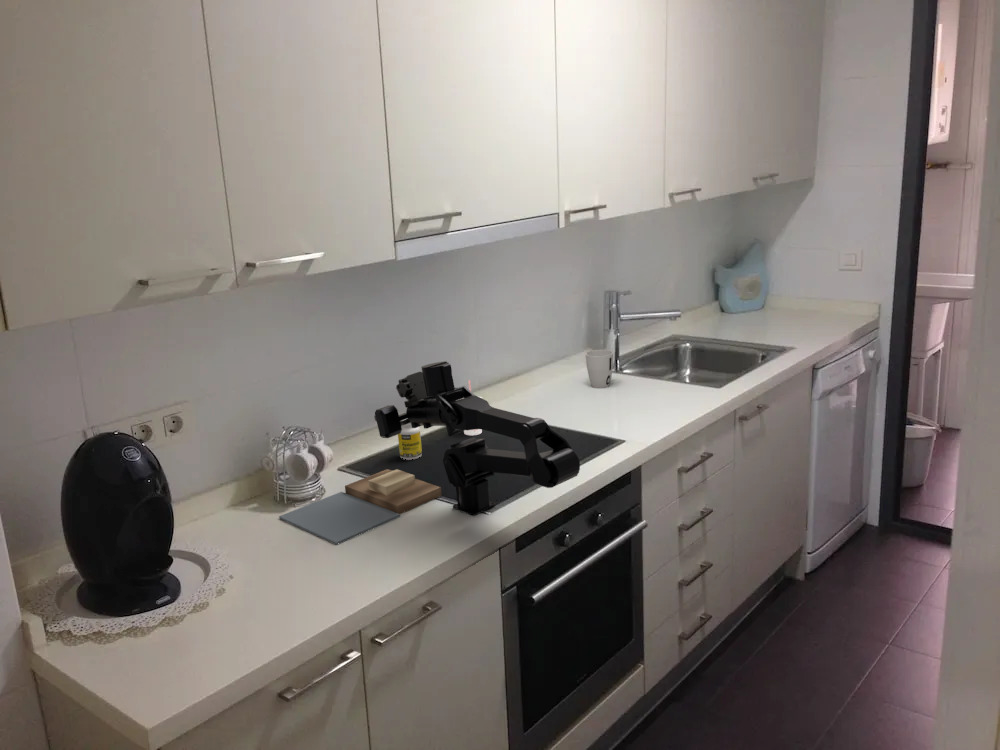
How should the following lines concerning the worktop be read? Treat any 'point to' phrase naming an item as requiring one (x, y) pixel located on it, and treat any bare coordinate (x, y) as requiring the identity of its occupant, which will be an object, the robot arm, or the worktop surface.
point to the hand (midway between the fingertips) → (391, 411)
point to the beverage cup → (475, 431)
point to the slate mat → (339, 517)
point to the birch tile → (391, 482)
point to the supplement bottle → (410, 442)
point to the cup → (599, 367)
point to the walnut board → (395, 494)
